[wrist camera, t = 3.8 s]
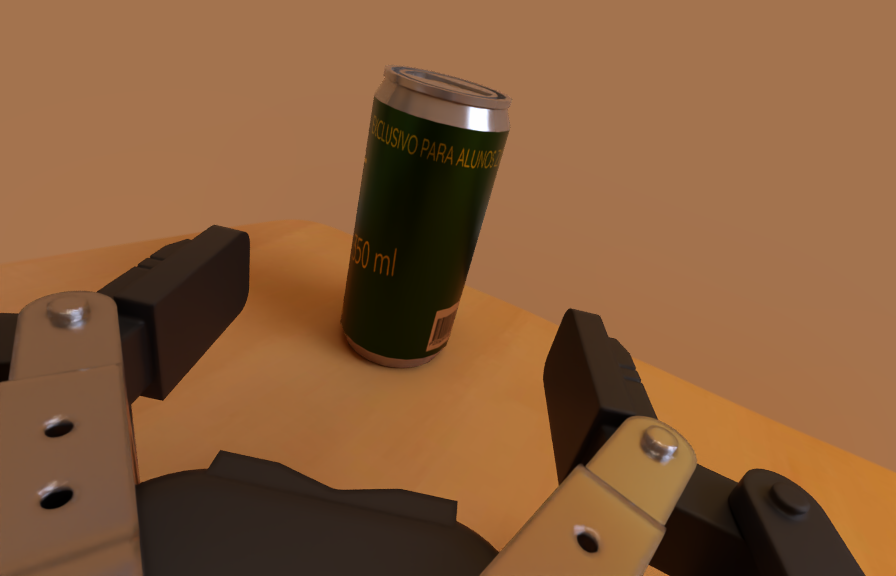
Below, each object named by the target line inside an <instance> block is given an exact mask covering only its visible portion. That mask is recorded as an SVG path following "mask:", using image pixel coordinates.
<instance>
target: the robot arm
mask: <svg viewBox="0 0 896 576" xmlns="http://www.w3.org/2000/svg"><path fill="white" fill-rule="evenodd" d="M249 263H250V239H249V236H248V234H247V233H246V232H243V231H239V230H235V229H231V228H226V227H222V226H217V225H213V226H211V227H209V228H208V229H207V230H205V231H204V232H202V233H201V234H200V235H198V236H197V237H195V238H194V239H192V240H190V239H186V240H182V241H179V242H176V243H173V244H169V245H166V246H164V247H163V248H161V249H160V250H158V251H157V252H155V253H154V254H152V255H151V256H150V258H146V259H145V260H143V261H142V262H140V263H139V264H138V266H137V267H133V268H132V269H130V270H129V271H127V272H126V273H124V274H123V275H121V276H120V277H118V278H117V279H115V280H114V281H112V282H111V283H109V284H108V285H106V286H105V287H103V288H102V289H100V290H99V291H97V292H90V291H68V292H61V293H56V294H51V295H48V296H45V297H42V298H39V299H37V300H35V301H33V302H31V303H29V304H28V305H26V306H25V307H24V308H23V309H22V310H21V311H20V313H19V314H14V313H0V576H643V574H644V572H645V570H646V568H647V566H648V564H649V565H651V566H652V567H654V568H656V569H658V570H660V571H662V572H664V573H666V574H667V575H669V576H865V574H864V573H863V571H862V570H861V568H860V566H859V565H858V563H857V562H856V560H855V559H854V557H853V555H852V554H851V552H850V551H849V549H848V548H847V546H846V544H845V543H844V541H843V540H842V538H841V537H840V535H839V533H838V532H837V530H836V529H835V527H834V526H833V524H832V522H831V521H830V519H829V518H828V516H827V515H826V513H825V512H824V510H823V509H822V507H821V506H820V505H819V504H818V503H817V501H816V500H815V499H814V498H813V497H812V496H811V495H810V494H808V493H807V492H806V491H805V490H804V489H803V488H801V487H800V486H798V485H797V484H796V483H794V482H792V481H791V480H789V479H788V478H786V477H784V476H782V475H780V474H777V473H775V472H772V471H769V470H765V469H752V470H749V471H748V472H747V473H746V474H745V475H744V476H743V478H742V479H741V480H740V481H739V483H737V482H735V481H733V480H731V479H729V478H727V477H724V476H722V475H720V474H718V473H716V472H714V471H711V470H709V469H707V468H705V467H703V466H701V465H699V464H697V458H696V454H695V452H694V450H693V448H692V447H691V445H690V444H689V443H688V441H687V440H686V439H685V438H684V437H683V436H682V435H681V434H680V433H678V432H677V431H676V430H675V429H673V428H672V427H670V426H669V425H667V424H665V423H663V422H661V421H659V420H658V419H657V416H656V414H655V412H654V409H653V407H652V405H651V402H650V400H649V398H648V395H647V393H646V391H645V388H644V386H643V384H642V383H641V379H640V377H639V374H638V372H637V371H635V369H636V367H635V365H634V363H633V360H632V358H631V356H630V353H629V352H627V350H626V349H625V348H624V347H623V346H622V345H621V344H620V343H619V342H618V341H617V340H616V339H614V338H610V337H608V335H607V332H606V330H605V327H604V324H603V322H602V319H601V317H600V316H599V315H596V314H592V313H588V312H584V311H579V310H575V309H568V310H567V311H566V313H565V315H564V317H563V319H562V322H561V324H560V326H559V329H558V331H557V334H556V336H555V339H554V341H553V344H552V346H551V349H550V351H549V354H548V356H547V359H546V362H545V367H544V374H543V382H544V389H545V396H546V402H547V409H548V416H549V422H550V429H551V436H552V442H553V449H554V456H555V462H556V469H557V476H558V482H559V487H558V488H557V489H556V490H555V491H554V492H553V493H552V494H551V496H550V497H549V498H548V499H547V500H546V501H545V502H544V503H543V504H542V506H541V507H540V508H539V509H538V510H537V511H536V512H535V513H534V515H533V516H532V517H531V518H530V519H529V520H528V521H527V522H526V524H525V525H524V526H523V527H522V528H521V529H520V530H519V531H518V532H517V534H516V535H515V536H514V537H513V538H512V539H511V540H510V541H509V543H508V544H507V545H506V546H505V547H504V548H503V549H502V550H501V552H500V553H499V552H498V551H497V550H496V549H495V548H494V547H493V546H492V545H491V544H490V543H489V542H488V541H486V540H485V539H484V538H483V537H481V536H480V535H479V534H477V533H476V532H474V531H473V530H471V529H470V528H468V527H466V526H465V525H463V524H461V523H459V522H457V521H456V515H457V501H454V500H449V499H444V498H440V497H435V496H431V495H426V494H421V493H417V492H412V491H407V490H403V489H362V490H337V489H333V488H330V487H328V486H326V485H324V484H322V483H320V482H318V481H316V480H314V479H312V478H309V477H307V476H305V475H303V474H301V473H299V472H297V471H295V470H293V469H291V468H289V467H287V466H285V465H283V464H280V463H277V462H273V461H268V460H264V459H259V458H254V457H250V456H245V455H240V454H236V453H231V452H226V451H222V450H220V451H219V453H218V454H217V456H216V457H215V459H214V460H213V462H212V463H211V465H210V467H209V468H208V469H196V470H188V471H181V472H176V473H171V474H167V475H163V476H160V477H157V478H153V479H150V480H148V481H145V482H142V483H140V477H139V468H138V459H137V451H136V442H135V433H134V425H133V416H132V409H131V404H132V403H133V402H134V401H135V400H136V399H137V398H138V397H139V396H144V397H148V398H153V399H158V400H162V401H163V400H164V399H165V398H166V397H167V395H168V394H169V393H170V392H171V391H172V390H173V389H174V387H175V386H176V385H177V384H178V383H179V382H180V381H181V380H182V378H183V377H184V376H185V375H186V374H187V373H188V372H189V370H190V369H191V368H192V367H193V366H194V365H195V364H196V362H197V361H198V360H199V359H200V358H201V357H202V356H203V354H204V353H205V352H206V351H207V350H208V349H209V348H210V347H211V345H212V344H213V343H214V342H215V341H216V340H217V339H218V337H219V336H220V335H221V334H222V333H223V332H224V331H225V329H226V328H227V327H228V326H229V325H230V324H231V323H232V322H233V320H234V319H235V318H236V317H237V316H238V315H239V314H240V312H241V311H242V309H243V308H244V306H245V303H246V301H247V297H248V293H249Z"/></svg>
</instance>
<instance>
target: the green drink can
mask: <svg viewBox="0 0 896 576" xmlns="http://www.w3.org/2000/svg"><path fill="white" fill-rule="evenodd" d="M384 76H385V78H384V80H383V81H382V83H381V84H380V86H379V87H378V89H377V90H376V92H375V95H374V102H373V108H372V115H371V122H370V128H369V136H368V141H367V148H366V155H365V162H364V169H363V175H362V182H361V188H360V196H359V202H358V208H357V215H356V222H355V229H354V235H353V242H352V249H351V255H350V262H349V269H348V276H347V282H346V289H345V296H344V302H343V309H342V316H341V324H342V327H343V330H344V332H345V335H346V338H347V340H348V343H349V345H350V346H351V347H352V348H353V349H354V350H355V351H356V352H357V353H358V354H359V355H361V356H363V357H364V358H366V359H368V360H369V361H372V362H375V363H378V364H381V365H384V366H389V367H397V368H407V367H417V366H419V365H422V364H425V363H427V362H429V361H430V360H432V359H433V358H434V357H435V356H436V355H437V354H438V353H439V352H440V351H441V350H442V349H443V348H444V347H445V346H446V344H447V342H448V339H449V336H450V333H451V329H452V326H453V323H454V319H455V316H456V312H457V309H458V305H459V302H460V298H461V295H462V292H463V288H464V285H465V281H466V277H467V274H468V271H469V268H470V264H471V261H472V257H473V254H474V250H475V247H476V243H477V240H478V237H479V233H480V230H481V226H482V223H483V219H484V216H485V212H486V209H487V206H488V202H489V198H490V195H491V192H492V188H493V185H494V181H495V178H496V175H497V171H498V168H499V164H500V160H501V157H502V154H503V150H504V147H505V144H506V140H507V137H508V133H509V130H510V122H509V116H508V109H507V108H509V107H510V105H511V101H512V99H511V98H510V97H509V96H508V95H505V94H503V93H501V92H499V91H497V90H494V89H491V88H489V87H486V86H483V85H480V84H477V83H474V82H471V81H467V80H464V79H460V78H457V77H453V76H449V75H445V74H441V73H437V72H433V71H428V70H423V69H418V68H412V67H406V66H397V65H388V66H385V71H384Z"/></svg>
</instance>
